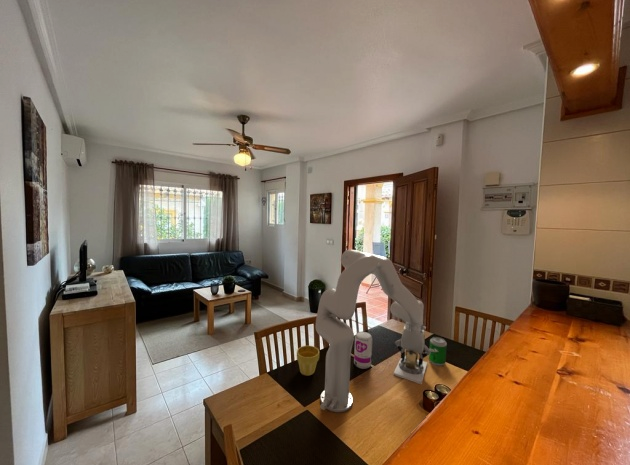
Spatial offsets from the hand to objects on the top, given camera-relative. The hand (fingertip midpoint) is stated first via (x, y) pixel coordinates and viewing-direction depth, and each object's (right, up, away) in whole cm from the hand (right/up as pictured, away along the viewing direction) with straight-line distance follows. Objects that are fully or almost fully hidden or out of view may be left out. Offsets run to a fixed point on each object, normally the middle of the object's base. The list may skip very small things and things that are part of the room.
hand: (411, 362), depth 125 cm
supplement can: (-23, -3, +3) cm, 23 cm away
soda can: (+15, -4, +7) cm, 17 cm away
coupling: (0, -2, 0) cm, 2 cm away
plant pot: (-49, -3, -4) cm, 50 cm away
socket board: (0, -3, 0) cm, 3 cm away
